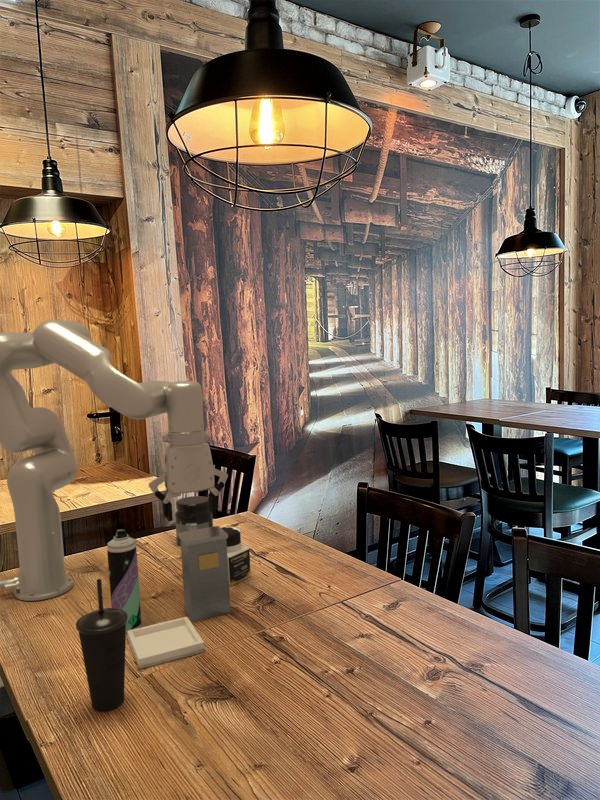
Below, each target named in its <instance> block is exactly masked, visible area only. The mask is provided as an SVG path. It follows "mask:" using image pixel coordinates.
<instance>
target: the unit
mask: <svg viewBox="0 0 600 800" xmlns="http://www.w3.org/2000/svg"><path fill="white" fill-rule="evenodd" d="M221 528H222V527H220V526H219V525H215V526H214V525H213V527H208V528H202V529H197V530H191V531H186V532H180V533H178V537H179V538H180V540H181V545H180V553H181V554H180V555H181V569H182V585H183V586H182V587H183V605H184V612H185V613H186V614H187V617H188V619H189V620H190V622H191V623H196V622H200V621H204V620H208V619H211V618H217V617H219V616H224V615H228V614H231V603H230V601H231V599H230V598H231V597H230V586H229V578H228V559H227V541H226V538H228V534H227V533H226V532H225V531H224V530H222V529H221Z"/></svg>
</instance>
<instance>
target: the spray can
mask: <svg viewBox="0 0 600 800" xmlns="http://www.w3.org/2000/svg"><path fill="white" fill-rule="evenodd" d="M106 545H107V548H106V551H107V552H106V553H107V554H106V555H107V565H108V567H107V568H108V577H109V578H108V579H109V580H108V581H109V593H110V605H111V606H110V607H111V608H113V609H120V610H123V611H125V612H126V613H127V616H128V619H127V621H126V635H128V634H127V631H129V630H133V629H137V628H142V627H143V626H142V612H141V611H142V610H141V609H142V608H141V599H140V598H141V597H140V596H141V595H140V583H139V581H140V580H139V566H138V552H137V551H138V550H137V543H136V539H135V538H134V537H130V536H129V534H128V533H126V530H125V529H122V528H119V529H116V531H115V535H114V536H113V538H112V539H111V540H110V541H108V542H107V544H106Z"/></svg>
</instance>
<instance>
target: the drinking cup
mask: <svg viewBox="0 0 600 800" xmlns="http://www.w3.org/2000/svg"><path fill="white" fill-rule="evenodd" d="M102 585H103V583H102V579H101V578H98V579H97V580H96V589H97V602H98V603H97V604H98V609H95V610H93V611H90V612H88V613H86V614H84V615H82V616H81V617H79V618H78V620H77V621H76V623H75V629H76V630H77V632H78V636H79V641H80V642H79V643H80V647H81V652H82V657H83V662H84V668H85V673H86V681H87V685H88V690H89V695H90V702H91V706H92V709H93V710H94V711H97V712H110V711H112V710H115V709H117V708H119V707H120V706H121V705H122V704H124V701H125V684H126V682H125V680H126V676H125V675H126V673H125V672H126V635H127V634H126V621H127V619H128V616H127V613H126V612H125V611H123V610H120V609H113V608H109V607H105V608H104V598H103V588H102V587H103V586H102Z"/></svg>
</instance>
